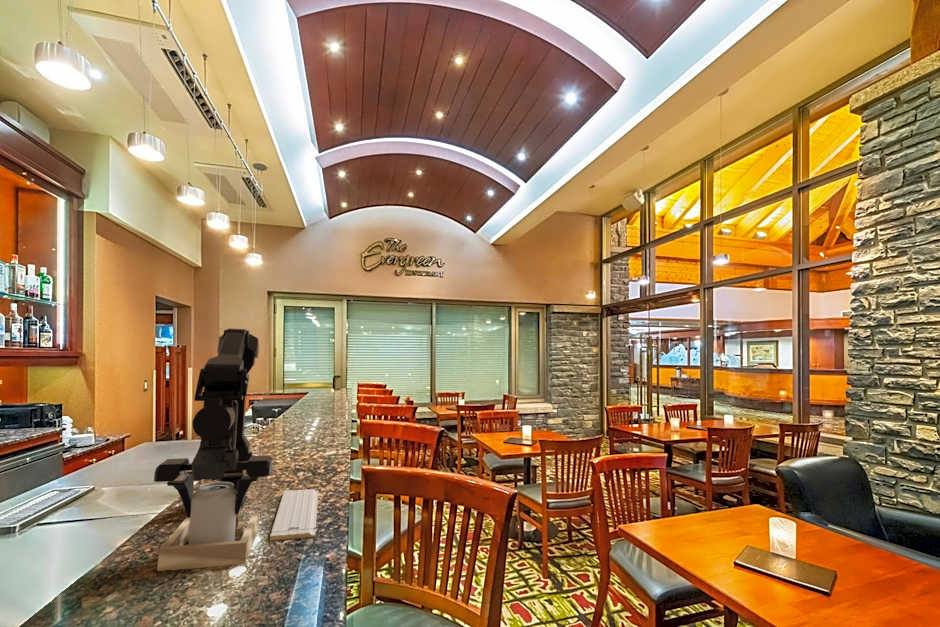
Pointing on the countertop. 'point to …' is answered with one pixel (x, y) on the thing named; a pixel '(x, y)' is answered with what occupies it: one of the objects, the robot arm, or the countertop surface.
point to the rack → (205, 549)
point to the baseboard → (296, 515)
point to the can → (213, 513)
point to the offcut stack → (238, 528)
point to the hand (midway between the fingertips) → (213, 515)
